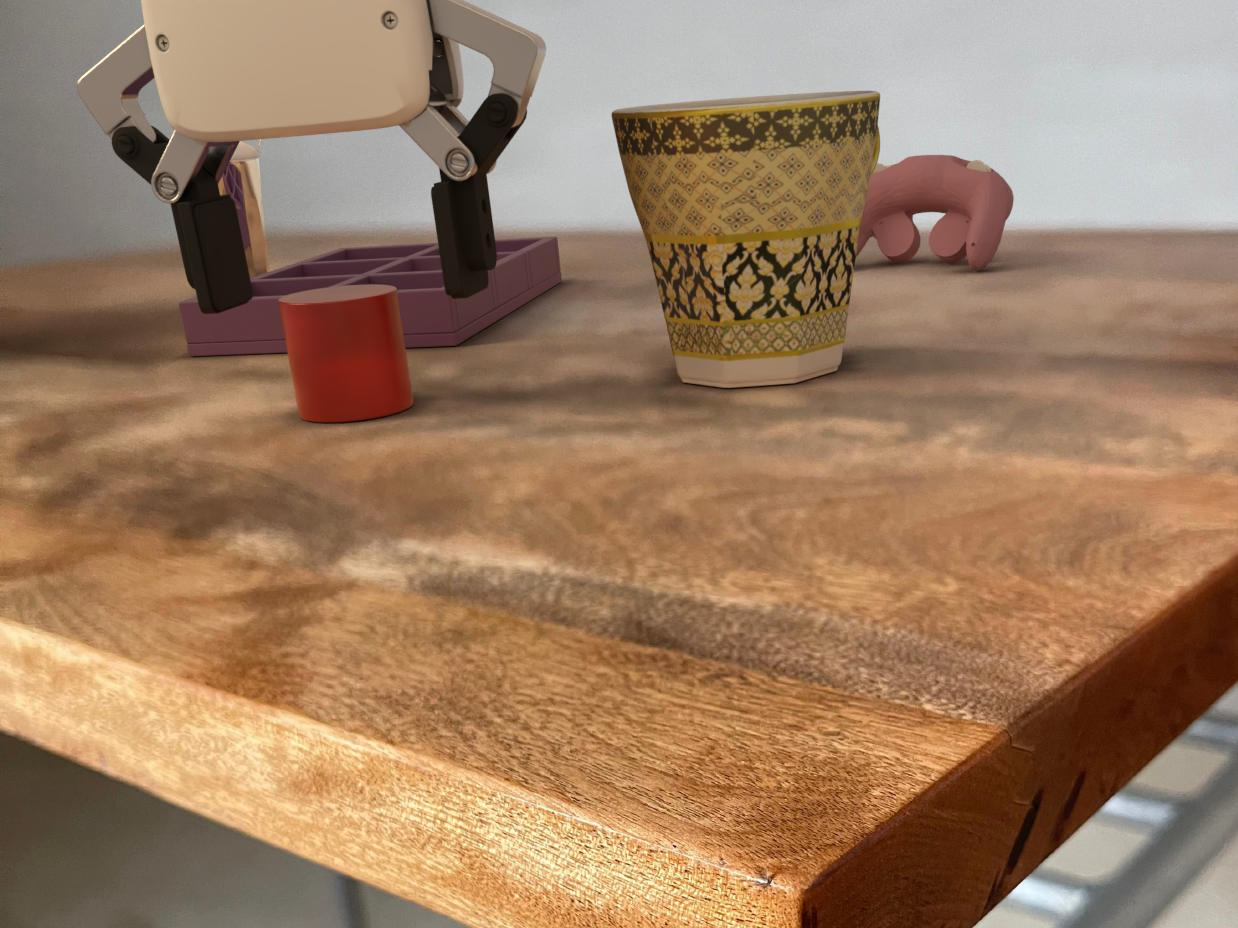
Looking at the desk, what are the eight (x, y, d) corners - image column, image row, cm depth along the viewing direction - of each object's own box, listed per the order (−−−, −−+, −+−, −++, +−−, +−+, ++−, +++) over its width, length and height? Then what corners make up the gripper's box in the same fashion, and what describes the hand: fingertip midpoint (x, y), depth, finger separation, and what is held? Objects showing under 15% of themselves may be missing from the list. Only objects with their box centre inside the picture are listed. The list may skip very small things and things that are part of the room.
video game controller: (1007, 290, 80) (1028, 167, 80) (982, 263, 76) (1005, 134, 76) (847, 288, 85) (867, 172, 85) (816, 262, 81) (837, 141, 81)
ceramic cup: (770, 408, 50) (756, 105, 46) (582, 382, 57) (555, 114, 53) (976, 344, 59) (979, 81, 55) (791, 327, 65) (782, 92, 61)
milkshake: (300, 286, 92) (271, 119, 88) (215, 296, 90) (181, 126, 86) (286, 279, 95) (258, 119, 91) (204, 289, 94) (172, 126, 89)
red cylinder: (280, 424, 54) (257, 305, 52) (326, 398, 58) (307, 286, 56) (389, 421, 53) (371, 300, 51) (428, 394, 57) (412, 282, 55)
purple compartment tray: (456, 346, 67) (449, 289, 66) (188, 356, 69) (177, 302, 68) (562, 281, 85) (557, 236, 84) (346, 291, 88) (339, 247, 87)
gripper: (537, -244, 49) (592, 273, 55) (80, -183, 52) (184, 299, 59) (470, -291, 42) (542, 303, 49) (-51, -217, 45) (84, 331, 52)
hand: (346, 300), depth 54 cm, fingers open, 9 cm apart
